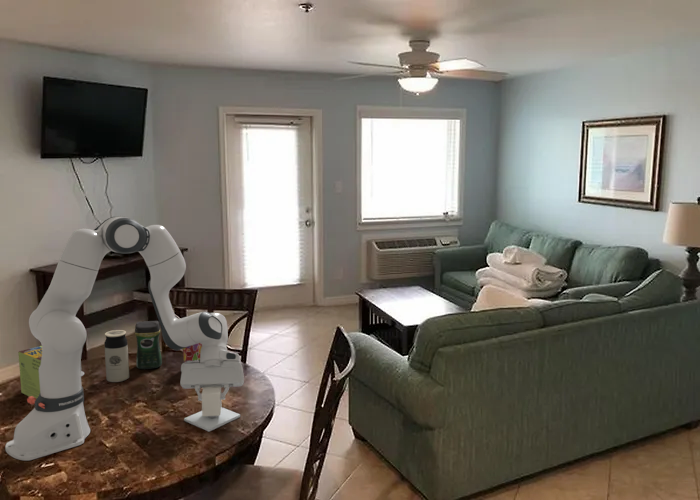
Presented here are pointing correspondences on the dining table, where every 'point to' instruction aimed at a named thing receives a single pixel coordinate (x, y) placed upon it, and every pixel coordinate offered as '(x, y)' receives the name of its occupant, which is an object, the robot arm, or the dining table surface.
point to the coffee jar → (148, 344)
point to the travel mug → (116, 356)
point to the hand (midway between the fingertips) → (211, 399)
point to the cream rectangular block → (211, 401)
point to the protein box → (30, 371)
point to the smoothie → (192, 352)
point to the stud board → (212, 419)
